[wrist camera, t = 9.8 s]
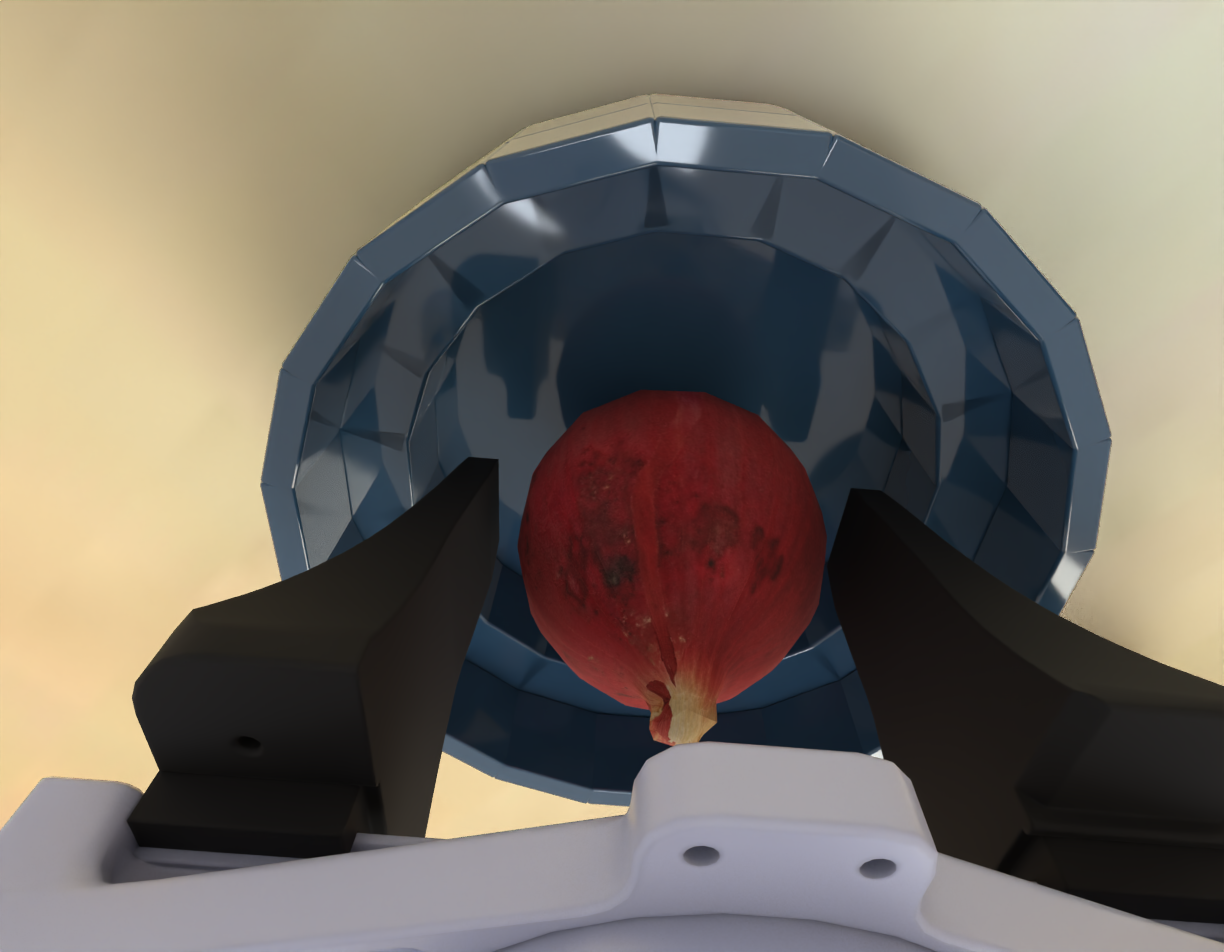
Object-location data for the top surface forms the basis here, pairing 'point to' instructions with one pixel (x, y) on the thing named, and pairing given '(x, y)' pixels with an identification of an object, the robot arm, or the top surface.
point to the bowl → (690, 387)
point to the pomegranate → (672, 553)
